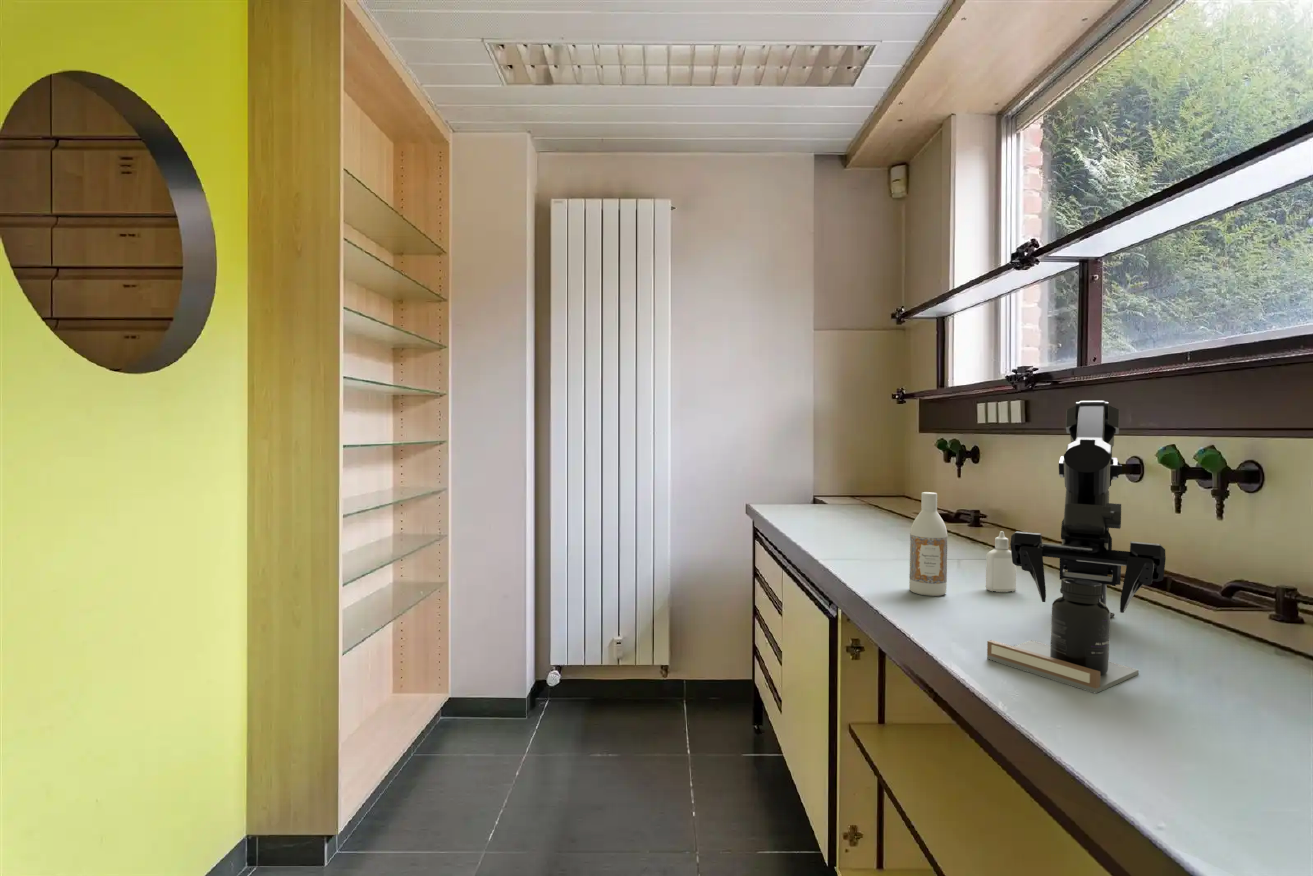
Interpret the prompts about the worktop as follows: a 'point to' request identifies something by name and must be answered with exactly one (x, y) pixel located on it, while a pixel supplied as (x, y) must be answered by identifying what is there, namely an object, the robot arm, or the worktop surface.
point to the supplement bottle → (1081, 625)
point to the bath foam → (928, 550)
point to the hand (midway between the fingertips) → (1081, 605)
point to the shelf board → (1056, 666)
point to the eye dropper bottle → (1000, 567)
